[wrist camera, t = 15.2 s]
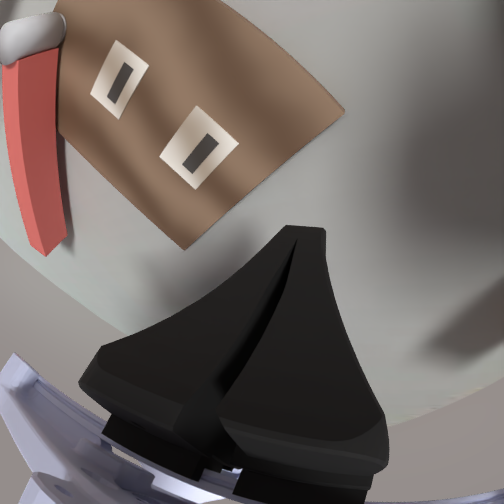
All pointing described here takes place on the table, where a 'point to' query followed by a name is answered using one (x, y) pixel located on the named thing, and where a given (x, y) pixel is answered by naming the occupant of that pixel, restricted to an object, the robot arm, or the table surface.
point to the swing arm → (33, 123)
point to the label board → (181, 105)
